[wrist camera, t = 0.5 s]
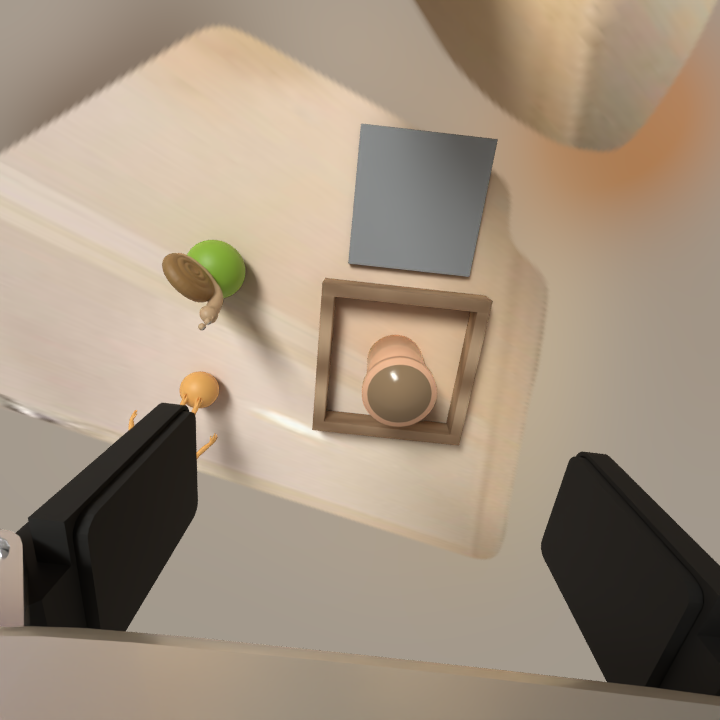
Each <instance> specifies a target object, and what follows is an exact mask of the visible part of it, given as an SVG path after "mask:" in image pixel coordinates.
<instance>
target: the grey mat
mask: <svg viewBox="0 0 720 720" xmlns="http://www.w3.org/2000/svg"><path fill="white" fill-rule="evenodd" d="M496 145H497V139H490V138H482V137H473V136H463V135H456V134H446V133H438V132H430V131H421V130H412V129H403V128H395V127H386V126H377V125H369V124H361V131H360V142H359V153H358V164H357V174H356V185H355V196H354V207H353V218H352V229H351V240H350V251H349V262H348V263H350V264H359V265H368V266H377V267H386V268H395V269H404V270H413V271H422V272H431V273H440V274H449V275H458V276H467V277H469V276H470V271H471V266H472V261H473V256H474V252H475V247H476V242H477V237H478V232H479V227H480V223H481V218H482V213H483V208H484V203H485V198H486V194H487V189H488V184H489V179H490V174H491V170H492V165H493V160H494V155H495V150H496Z"/></svg>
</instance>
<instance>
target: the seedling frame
mask: <svg viewBox="0 0 720 720" xmlns="http://www.w3.org/2000/svg"><path fill="white" fill-rule="evenodd" d="M336 297H343V298H352V299H361V300H370V301H379V302H388V303H397V304H407V305H416V306H425V307H434V308H443V309H452V310H461V311H470V316H469V320H468V325H467V330H466V334H465V339H464V344H463V348H462V353H461V357H460V362H459V367H458V371H457V376H456V381H455V385H454V390H453V395H452V399H451V404H450V409H449V413H448V418H447V423H439V422H429V421H419V422H417V423H414V424H412V425H408V426H402V427H395V426H389V425H385V424H383V423H381V422H379V421H377V420H376V419H374V418H373V417H372V416H371V415H364V414H354V413H345V412H336V411H326V409H327V397H328V385H329V373H330V360H331V348H332V336H333V324H334V312H335V300H336ZM492 302H493V301H491V300H490V299H489V298H488V297H487V296H483V295H474V294H465V293H456V292H447V291H438V290H429V289H420V288H410V287H401V286H392V285H383V284H374V283H365V282H356V281H347V280H338V279H329V278H325V280H324V281H323V283H322V298H321V312H320V327H319V341H318V356H317V370H316V385H315V399H314V413H313V428H312V430H318V431H328V432H337V433H347V434H356V435H365V436H375V437H384V438H394V439H403V440H413V441H422V442H432V443H441V444H450V445H459V443H460V439H461V434H462V430H463V426H464V422H465V417H466V413H467V409H468V404H469V400H470V396H471V392H472V387H473V383H474V379H475V375H476V370H477V366H478V362H479V358H480V353H481V349H482V345H483V340H484V336H485V332H486V328H487V323H488V319H489V315H490V311H491V306H492Z"/></svg>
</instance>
